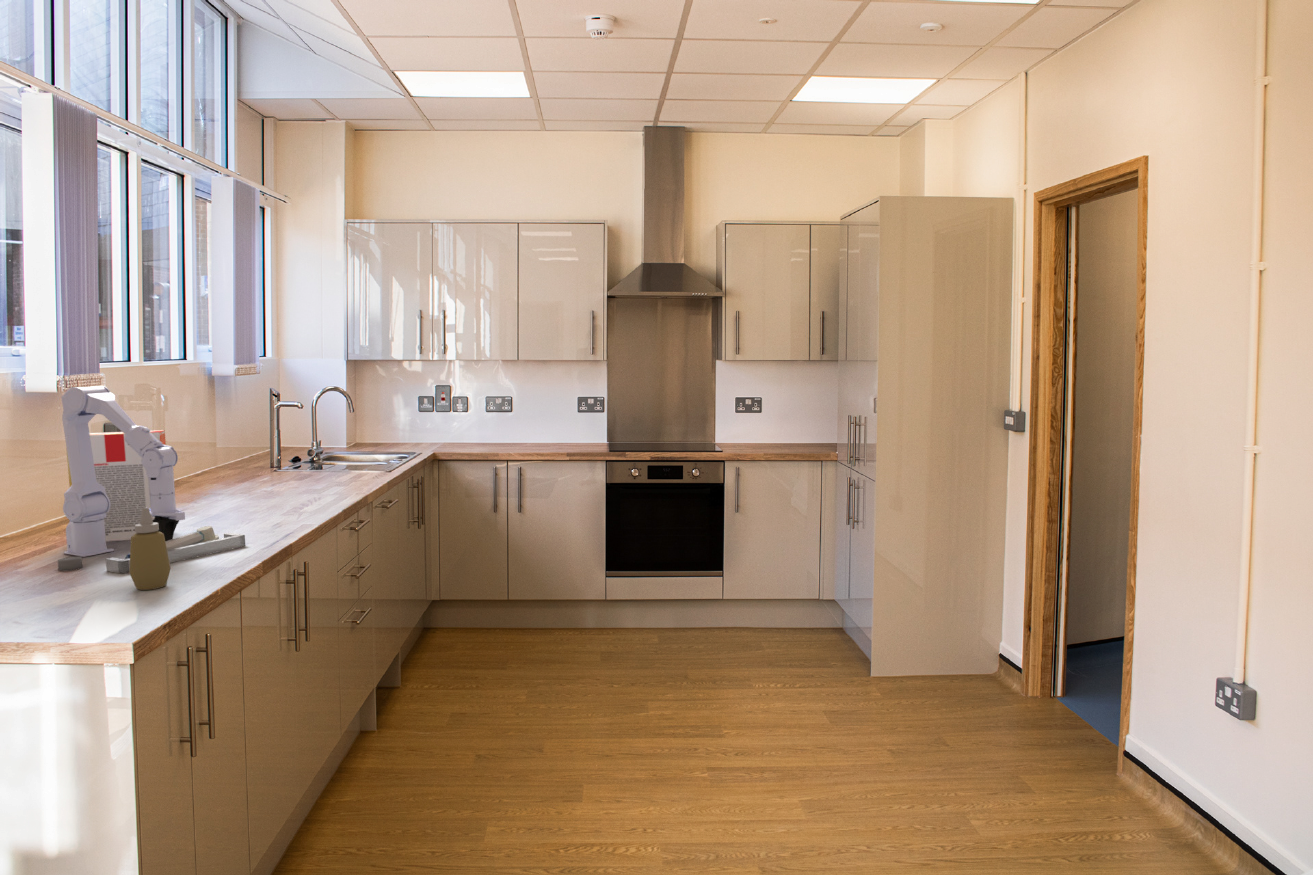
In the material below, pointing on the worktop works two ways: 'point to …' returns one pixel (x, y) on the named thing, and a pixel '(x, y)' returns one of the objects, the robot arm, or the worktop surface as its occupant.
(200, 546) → the curved pull handle
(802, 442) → the worktop surface
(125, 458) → the pasta box
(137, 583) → the squeeze bottle
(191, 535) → the white handheld wand
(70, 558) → the smooth gray pebble
